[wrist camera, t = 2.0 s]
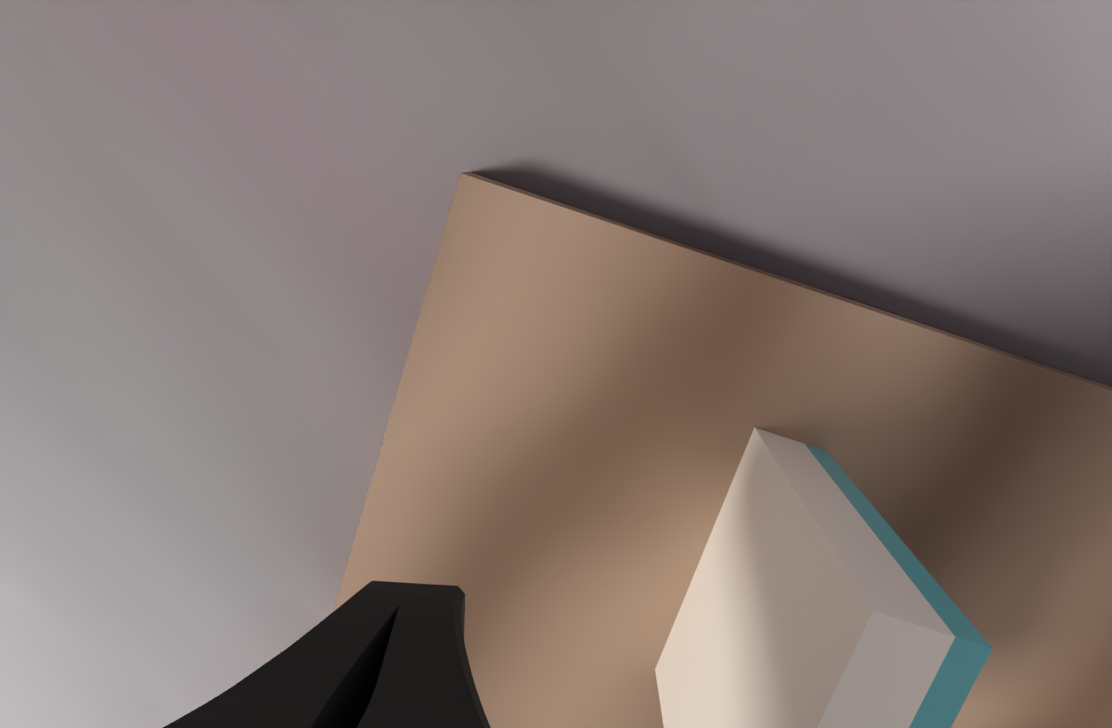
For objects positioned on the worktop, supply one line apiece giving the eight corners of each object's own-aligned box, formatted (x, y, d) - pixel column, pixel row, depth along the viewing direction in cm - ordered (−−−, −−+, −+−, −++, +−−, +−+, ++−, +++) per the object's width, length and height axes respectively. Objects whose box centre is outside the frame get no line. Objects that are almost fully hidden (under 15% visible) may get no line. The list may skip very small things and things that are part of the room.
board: (1422, 491, 18) (1480, 514, 17) (1083, 1018, 22) (1111, 1065, 21) (468, 172, 17) (460, 173, 16) (288, 787, 21) (271, 825, 20)
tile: (827, 450, 17) (992, 648, 10) (722, 689, 18) (806, 1001, 12) (754, 427, 17) (872, 611, 10) (655, 669, 18) (700, 971, 12)
